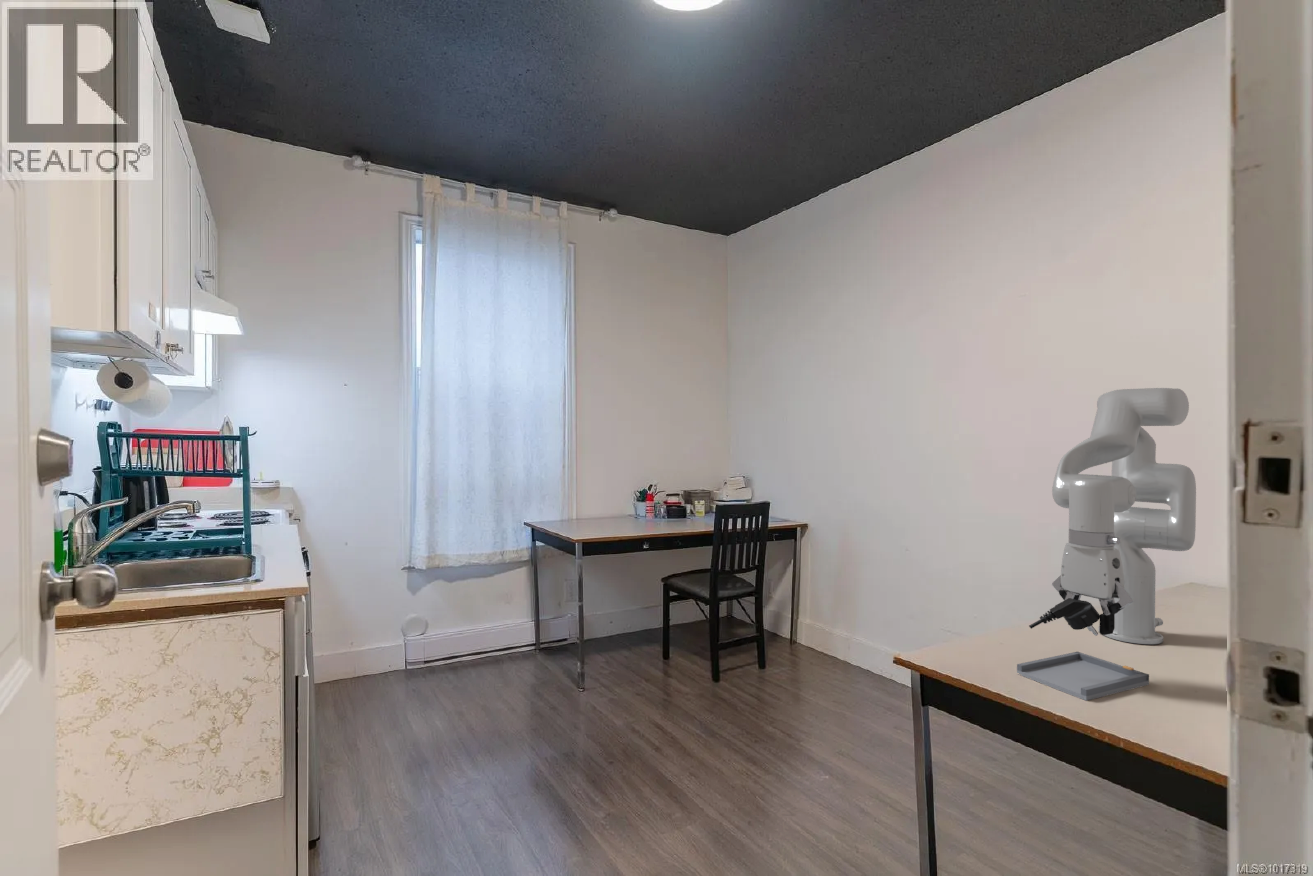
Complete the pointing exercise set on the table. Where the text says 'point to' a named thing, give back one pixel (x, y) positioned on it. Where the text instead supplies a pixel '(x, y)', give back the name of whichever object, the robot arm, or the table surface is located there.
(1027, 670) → the dock
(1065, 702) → the table surface
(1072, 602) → the power plug
